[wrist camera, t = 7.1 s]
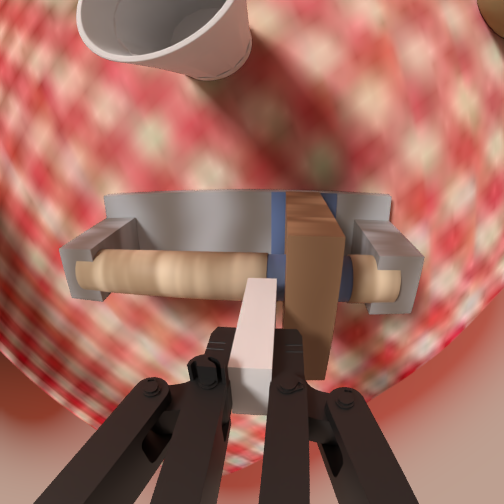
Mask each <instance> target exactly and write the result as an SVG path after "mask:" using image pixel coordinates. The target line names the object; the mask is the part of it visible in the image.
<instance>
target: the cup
mask: <svg viewBox="0 0 504 504" xmlns="http://www.w3.org/2000/svg"><path fill="white" fill-rule="evenodd" d="M76 18H77V27H78V31H79V34H80V36H81V38H82V40H83V42H84V43H85V44H86V46H87V47H88V48H89V49H90V50H91V51H92V52H94V53H95V54H97V55H98V56H100V57H102V58H105V59H107V60H111V61H115V62H122V63H129V64H136V65H142V66H148V67H155V68H159V69H164V70H168V71H172V72H176V73H180V74H184V75H188V76H190V77H192V78H195V79H198V80H204V81H212V80H218V79H222V78H225V77H227V76H229V75H231V74H233V73H234V72H236V71H237V70H238V69H239V68H241V67H242V65H243V64H244V63H245V62H246V60H247V59H248V57H249V55H250V52H251V48H252V36H251V32H250V30H249V21H248V12H247V3H246V0H79V1H78V5H77V15H76Z"/></svg>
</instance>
